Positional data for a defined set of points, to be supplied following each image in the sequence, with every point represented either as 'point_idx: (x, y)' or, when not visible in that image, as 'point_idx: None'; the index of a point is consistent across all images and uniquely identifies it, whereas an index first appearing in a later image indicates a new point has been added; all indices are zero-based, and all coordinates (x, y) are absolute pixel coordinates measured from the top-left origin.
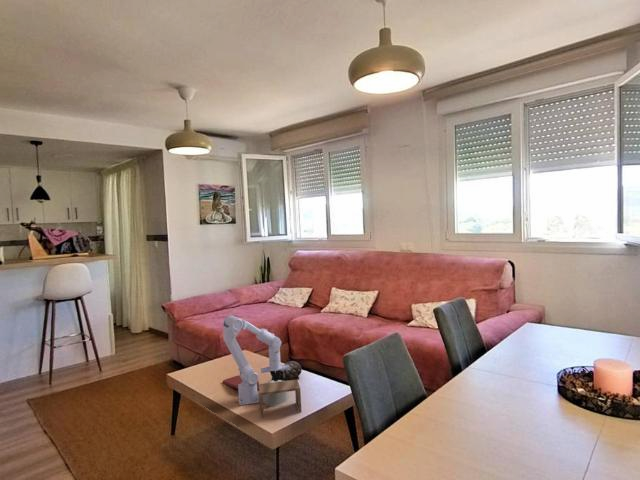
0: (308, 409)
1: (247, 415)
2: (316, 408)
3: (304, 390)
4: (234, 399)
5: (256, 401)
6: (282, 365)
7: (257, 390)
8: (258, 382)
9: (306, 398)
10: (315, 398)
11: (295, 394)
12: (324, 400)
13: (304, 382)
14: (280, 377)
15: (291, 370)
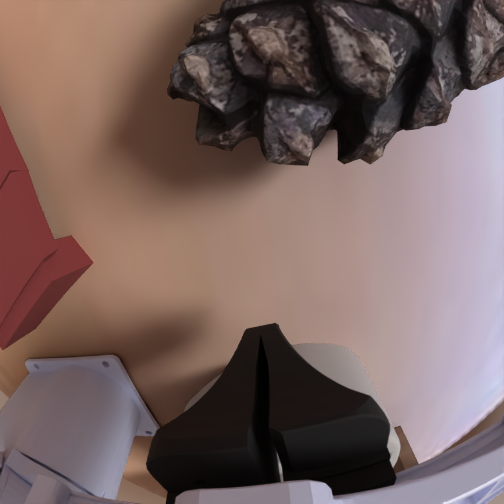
0: (419, 454)
1: (158, 488)
2: (447, 442)
3: (474, 281)
4: (12, 360)
5: (145, 430)
6: (481, 485)
7: (77, 276)
8: (41, 256)
9: (451, 382)
10: (483, 375)
11: (403, 469)
12: (500, 384)
13: (487, 128)
14: (314, 147)
15: (483, 66)
